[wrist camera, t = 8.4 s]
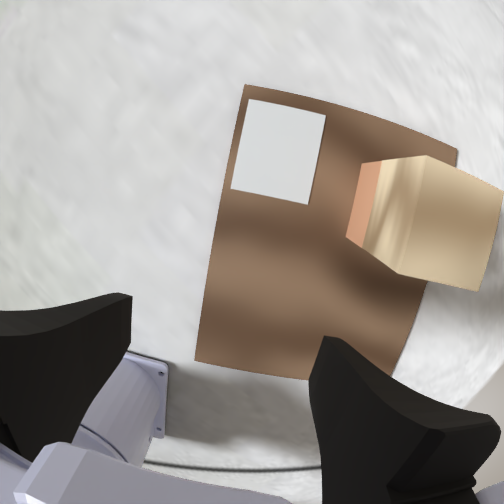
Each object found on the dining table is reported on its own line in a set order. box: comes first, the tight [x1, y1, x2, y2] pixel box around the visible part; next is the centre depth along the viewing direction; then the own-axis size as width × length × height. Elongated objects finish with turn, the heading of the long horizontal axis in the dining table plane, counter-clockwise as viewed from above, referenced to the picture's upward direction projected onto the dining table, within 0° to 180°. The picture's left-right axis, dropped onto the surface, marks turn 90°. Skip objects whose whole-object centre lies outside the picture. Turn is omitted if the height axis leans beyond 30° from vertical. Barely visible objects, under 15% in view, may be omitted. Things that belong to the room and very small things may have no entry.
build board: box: [194, 84, 457, 380], centre depth 20 cm, size 20×16×1 cm
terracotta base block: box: [346, 161, 382, 248], centre depth 18 cm, size 5×5×4 cm
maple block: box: [362, 155, 504, 292], centre depth 13 cm, size 5×5×5 cm
